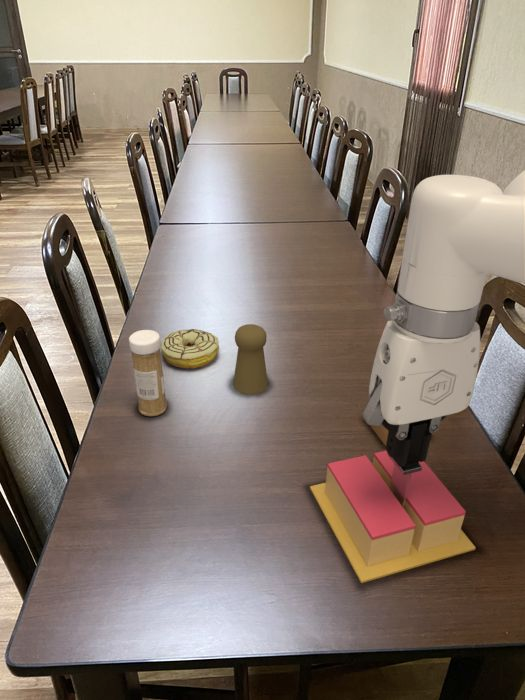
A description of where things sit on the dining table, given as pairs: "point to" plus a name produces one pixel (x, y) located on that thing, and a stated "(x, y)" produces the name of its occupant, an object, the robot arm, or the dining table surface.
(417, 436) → the knife
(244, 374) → the olive brown pawn
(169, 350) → the decorated donut
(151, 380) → the sprinkles bottle
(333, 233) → the dining table surface
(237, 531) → the dining table surface
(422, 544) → the cake
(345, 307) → the dining table surface
